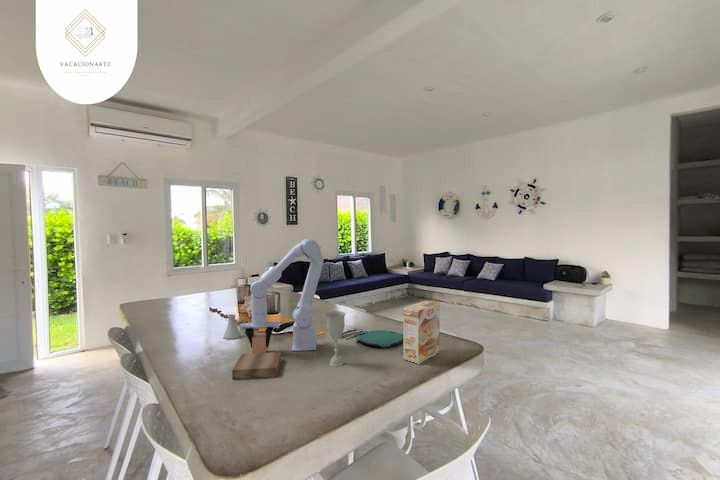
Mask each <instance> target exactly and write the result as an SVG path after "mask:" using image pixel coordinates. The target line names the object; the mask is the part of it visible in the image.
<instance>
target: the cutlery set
mask: <svg viewBox="0 0 720 480" xmlns="http://www.w3.org/2000/svg"><path fill="white" fill-rule="evenodd" d="M357 330H362V332H360V331H357ZM357 330H356V329H355V332H354V330H352V329H347V330H346V331H343V333H342V335H341V337H340V339H343V338H345V337H347V338H345V340H346V341H347V340H349V339H350V338H355V340H356V341H357V342H360V343H362V344H364V345H367V346H371V347H373V346H374V347H381V348H389V347H391V346H396V345H398V344H401V343H402V342H403V333H398V332H395V331H391V330H386V329H385V330H384V329H381V330H380V329H379V330H378V329H377V330H376V329H375V330H370V331H367V330H365V331H363V329H362V328H361V329H359V328H358V329H357ZM359 332H360V333H359ZM365 332H366V333H365ZM360 334H361V335H360ZM350 335H352V336H350ZM348 336H349V337H348Z"/></svg>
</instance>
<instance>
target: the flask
mask: <svg viewBox="0 0 720 480" xmlns="http://www.w3.org/2000/svg"><path fill="white" fill-rule="evenodd" d="M227 318H228V320H227V326H226V329H225V332H224V335H223V339H224V340H235V339H239V338H240V337H241V336H242V334H241V332H240V331H241V330H240V328H239V327H238V325H237V322H236V314H234V313H232V314H231V313H230V314H228V315H227Z"/></svg>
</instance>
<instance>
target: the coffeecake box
mask: <svg viewBox="0 0 720 480" xmlns="http://www.w3.org/2000/svg"><path fill="white" fill-rule="evenodd" d="M440 305H441V302H440V303H439V302H435V301H429V300H428V301H427V300H423V301H420V302H417V303H414V304H410V305H408V306H404V307H403V308H402V310H403V312H402V313H403V317H402V318H403V321H402V322H403V326H402V327H403V328H402V330H403V332H402V334H403V341H402V342H403V343H402V344H403V347H402V348H403V349H402V350H403V351H402V352H403V355H402V356H403V357H402V358H403V359H405V360H408V361H407V362H409V361H411V362H410V363H412V362H415V363H418V364H419V363H421V362H423V361H424V360H426V359H428V358H429V357H431V356H432V355H434V354H436V353H437V352H439V351H440V352H441V350H440V333H441V332H440V331H441V330H440V322H441V321H440V320H441V318H440V316H441V315H440V314H441V313H440V310H441V309H440ZM403 359H402V360H403ZM405 360H404V361H405ZM428 360H429V359H428ZM426 361H427V360H426ZM423 363H424V362H423ZM418 364H417V365H418ZM421 364H422V363H421ZM419 365H420V364H419Z"/></svg>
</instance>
